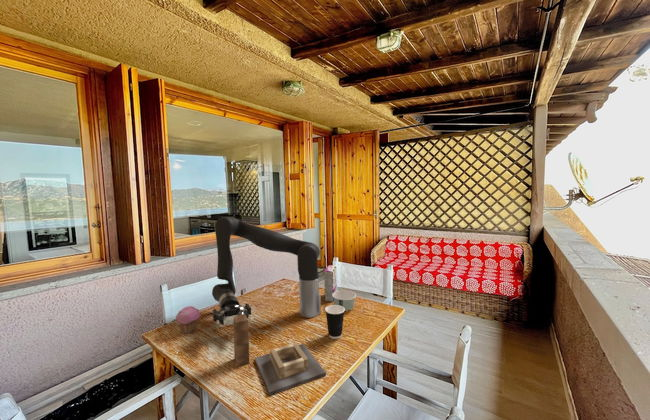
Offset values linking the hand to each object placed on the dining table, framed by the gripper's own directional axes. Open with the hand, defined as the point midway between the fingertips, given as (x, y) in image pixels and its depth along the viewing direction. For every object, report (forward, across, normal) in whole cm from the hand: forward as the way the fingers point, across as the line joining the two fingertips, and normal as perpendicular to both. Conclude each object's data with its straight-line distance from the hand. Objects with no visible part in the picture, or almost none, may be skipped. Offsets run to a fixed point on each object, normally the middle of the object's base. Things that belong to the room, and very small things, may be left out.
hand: (234, 319), depth 101 cm
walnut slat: (+11, 0, +10) cm, 15 cm away
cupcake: (-20, -16, +10) cm, 27 cm away
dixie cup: (+12, +36, +9) cm, 40 cm away
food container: (-9, +53, +9) cm, 55 cm away
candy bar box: (-23, +53, +9) cm, 59 cm away
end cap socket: (+22, +13, +9) cm, 28 cm away
